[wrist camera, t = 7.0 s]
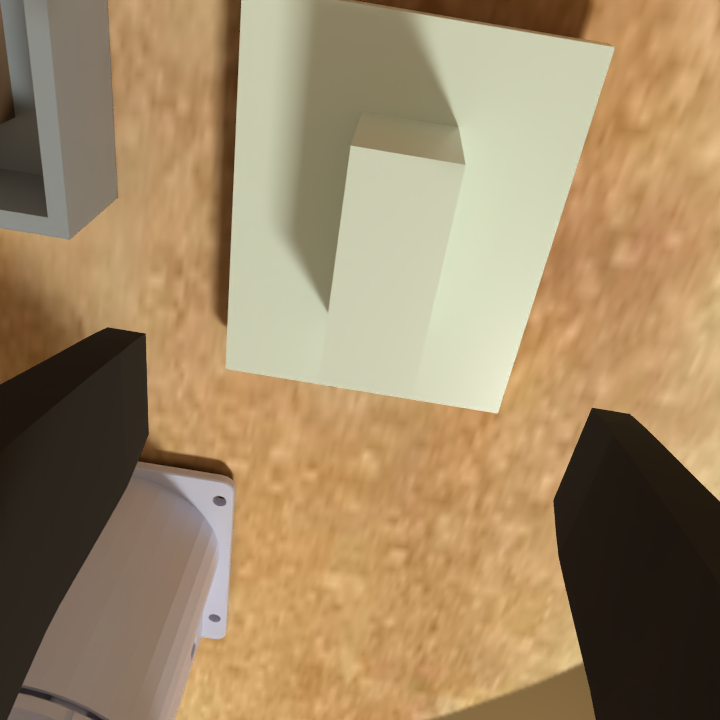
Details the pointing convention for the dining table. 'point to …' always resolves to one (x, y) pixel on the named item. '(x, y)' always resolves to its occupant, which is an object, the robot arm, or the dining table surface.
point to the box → (57, 117)
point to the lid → (397, 193)
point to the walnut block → (5, 80)
